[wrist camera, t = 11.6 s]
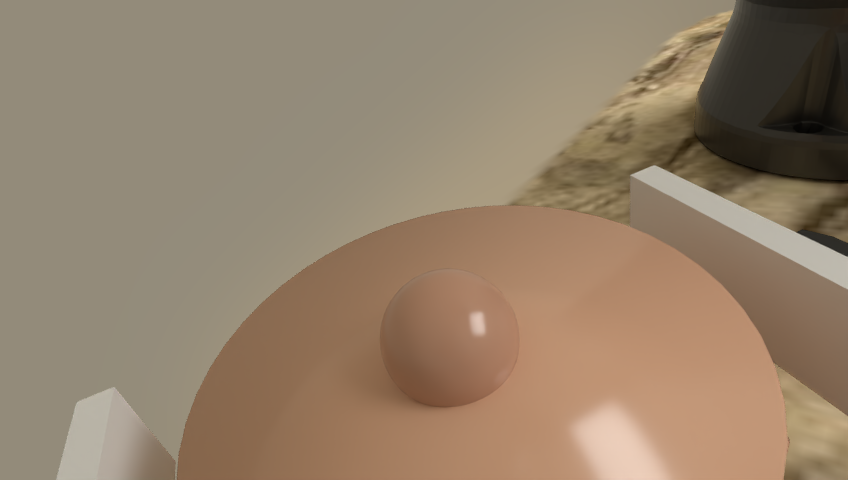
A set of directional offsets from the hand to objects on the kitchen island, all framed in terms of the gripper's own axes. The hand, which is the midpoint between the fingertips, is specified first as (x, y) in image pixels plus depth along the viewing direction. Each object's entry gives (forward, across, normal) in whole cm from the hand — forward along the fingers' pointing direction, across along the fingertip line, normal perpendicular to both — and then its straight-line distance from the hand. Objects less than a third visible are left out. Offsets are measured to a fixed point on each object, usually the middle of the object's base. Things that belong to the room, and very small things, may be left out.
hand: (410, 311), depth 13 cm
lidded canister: (-3, 0, -9) cm, 10 cm away
